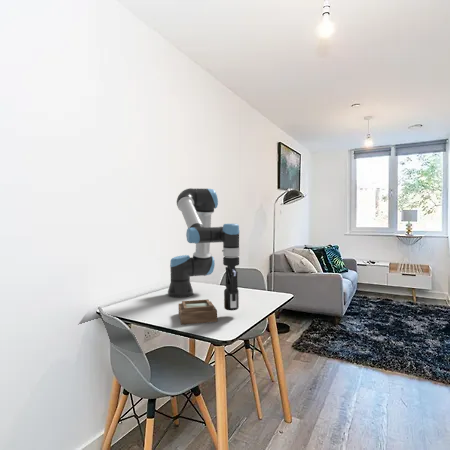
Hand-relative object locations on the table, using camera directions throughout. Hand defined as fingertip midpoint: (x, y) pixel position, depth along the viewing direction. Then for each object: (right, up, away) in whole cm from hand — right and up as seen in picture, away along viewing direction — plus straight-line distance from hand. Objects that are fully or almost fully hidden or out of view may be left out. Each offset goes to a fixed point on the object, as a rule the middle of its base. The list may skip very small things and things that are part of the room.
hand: (231, 305), depth 149 cm
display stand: (-16, -6, -1) cm, 17 cm away
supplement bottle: (0, -2, 0) cm, 2 cm away
